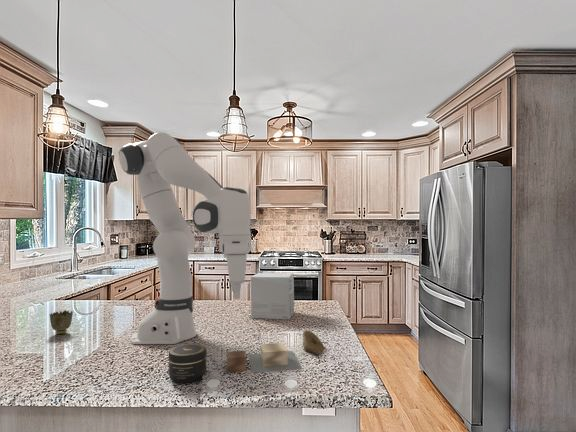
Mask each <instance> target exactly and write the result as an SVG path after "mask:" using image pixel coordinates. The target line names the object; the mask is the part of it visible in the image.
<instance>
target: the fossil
mask: <svg viewBox="0 0 576 432" xmlns="http://www.w3.org/2000/svg"><path fill="white" fill-rule="evenodd" d="M302 347H303V350H304V351H305V352H307V353H313V354H315V355H317V356H322V354H323V353H324V350H325V346H324V344H323V342H322V341H321V339H320V338H319V337H318V335H317V334H315V332H313V331H311V330H304V331H303V332H302Z"/></svg>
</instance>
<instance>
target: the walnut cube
mask: <svg viewBox="0 0 576 432" xmlns="http://www.w3.org/2000/svg"><path fill="white" fill-rule="evenodd" d="M226 369H227V373H228V374H230V373H241V372H246V371H247V355H246V350H233V351H226Z"/></svg>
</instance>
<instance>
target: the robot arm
mask: <svg viewBox="0 0 576 432" xmlns="http://www.w3.org/2000/svg"><path fill="white" fill-rule="evenodd" d="M118 162H119V164H120V167H121V169H122V170H123V172H125V173H126V174H127V175H128V176H129V175H130V176H137V177H136V178H137V185H138V190H139V193H140V196H141V199H142V202H143V205H144V208H145V210H146V212H147V215H148V218H149V221H150V222H151V223H152V224H153V226H154V227H155V228H156V230H157V232H158V233H159V234H158V235H157V236H156V237H155V239H154V241H153V244H152V247H153V248H152V249H153V252H154V254H155V257H156V261H157V266H158V272H159V280H160V281H159V285H160V287H159V289H160V293H159V294H160V296H157V297H156V298H155V299H154V309H153V310H151V311H150V312H149V313H148V314H146V316H144V317H143V318H141V320H140V322H139V324H138V328H137V331H136V332H134V333H133V334H132V335H131V337H130V343H131V344H132V345H176V344H178V343H181V342H183V341H187V340H191V339H192V338H194V337H196V336H197V335H198V334H197V330H196V327H195V322H194V316H193V315H194V313H193V311H194V296H193V294H192V293H193V292H192V291H193V289H192V287H193V283H192V281H193V277H192V276H193V275H192V272H191V269H190V263H189V262H190V261H189V256H190V254H192V253H193V251H194V249H195V248H196V247H195V246H196V238H195V235H194V234H193V233H192V231H191V229H190V226H189V224H188V223H187V221H186V219H185V217H184V215H183V213H182V211H181V209H180V206H179V204H178V201H177V199H176V196H175V194H174V193H175V192H174V190H173V188H172V186H174V187H175V186H176V187H179V188H182V189H183V188H184V189H187V190H191V191H194V192H197V193H199V194H201V195H202V196H204V197H205V198H206V199H205V200H203V201H202V200H201V201H199V202H198V203H197V204H196V205H195V207H194V208H193V211H192V221H193V225H194V227H195V228H196V230H197V231H198V232H200V233H203V234H218V243H219V244H218V251H219V253H223V258H224V259H226V263H227V271H228V272H227V273H228V279H229V283H230V284H231V291H232V293H233V294H232V297H233V299H234V300H239V299H240V298H241V289H242V288H241V287H242V284H244V283H245V280H246V272H247V271H246V268H247V259H248V258H247V257H248V254H249V253H250V252H251V251H252V232H251V229H250V224H251V219H252V217H251V211H252V210H251V202H250V197H249V194H248V191H246V190H245V189H242V188H237V187H227V186H226V187H223V186H222V185H221V184H220V183H219V182H218V181H217V180H216V179H215V177H213V176H212V175H211V174H210V173H208V171H207V170H205V169H204V168H203V167H202V166H201V165H200V164H199V163H198V162H196V160H195V159H194V158H192V156H191V155H190V153H188V151H187V150H186V149H185V148H184V147H183V145H182V143H181V141H180V140H178V139H177V138H175V137H173V136H172V135H170V134H168V133H167V132H162V131H160V132H155V133H154V134H152V135H150V136H149V138H148V139H147V140H142V141H139V142H134V143H127V144H125V145H124V146H122V147H120V149H119V151H118Z"/></svg>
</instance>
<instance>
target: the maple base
mask: <svg viewBox="0 0 576 432" xmlns="http://www.w3.org/2000/svg"><path fill="white" fill-rule="evenodd" d="M260 354H261V360H262V364H263V367H266V366H278V365H288V348H287V346H286V344H285V342H277V343H276V342H273V343H261V344H260Z"/></svg>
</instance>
